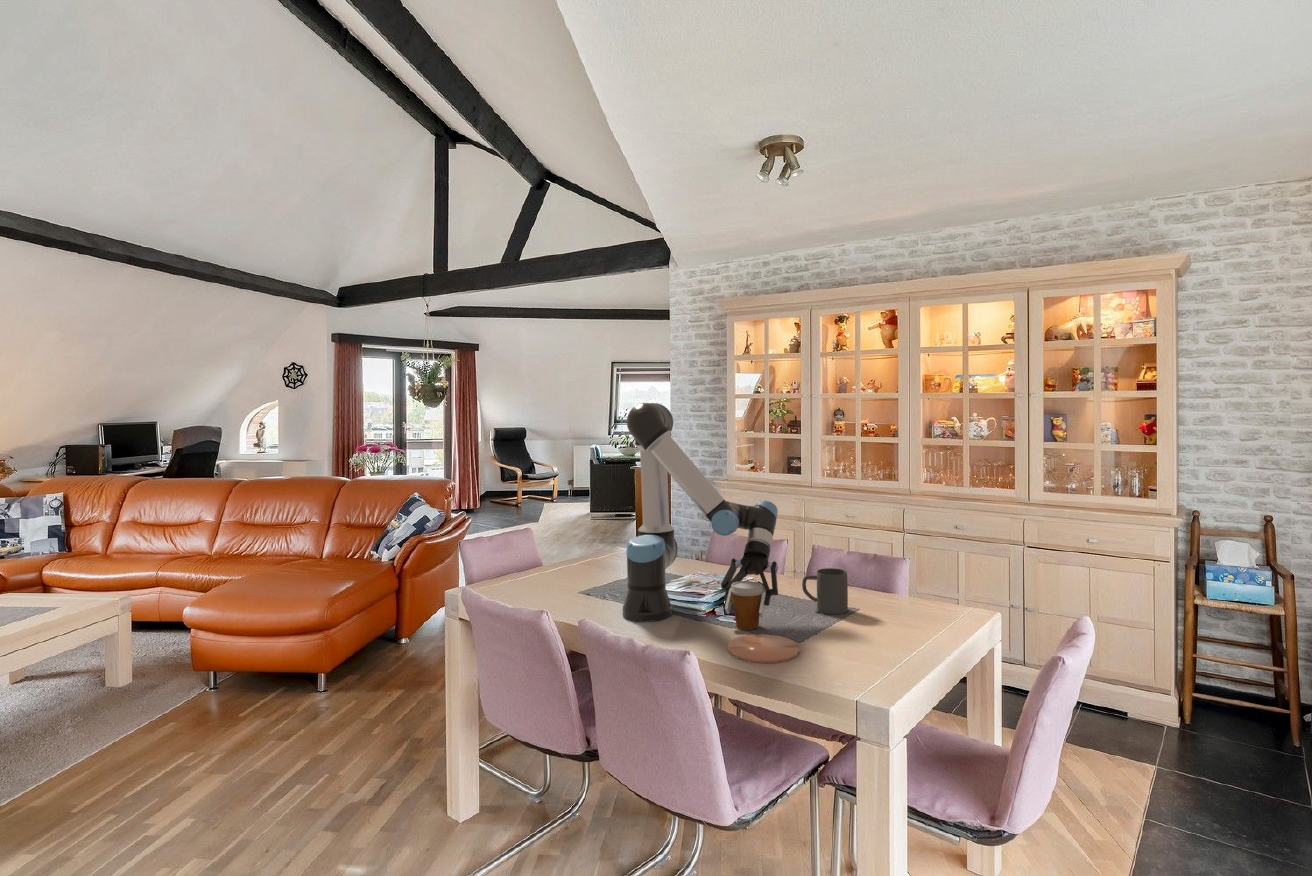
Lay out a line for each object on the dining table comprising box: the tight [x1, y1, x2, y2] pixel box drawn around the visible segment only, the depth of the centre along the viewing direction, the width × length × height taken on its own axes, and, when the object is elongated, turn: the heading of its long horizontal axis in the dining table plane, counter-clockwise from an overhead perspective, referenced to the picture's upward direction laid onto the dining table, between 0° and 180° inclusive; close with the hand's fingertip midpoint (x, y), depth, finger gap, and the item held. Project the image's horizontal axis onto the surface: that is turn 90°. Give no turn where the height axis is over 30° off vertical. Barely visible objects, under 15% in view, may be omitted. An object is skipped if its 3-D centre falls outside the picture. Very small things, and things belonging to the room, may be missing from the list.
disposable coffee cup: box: [730, 580, 765, 630], centre depth 194 cm, size 10×10×12 cm
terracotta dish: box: [727, 633, 800, 664], centre depth 174 cm, size 18×18×1 cm
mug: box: [801, 567, 849, 615], centre depth 209 cm, size 14×9×12 cm
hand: (743, 613), depth 191 cm, fingers closed on disposable coffee cup, 9 cm apart
